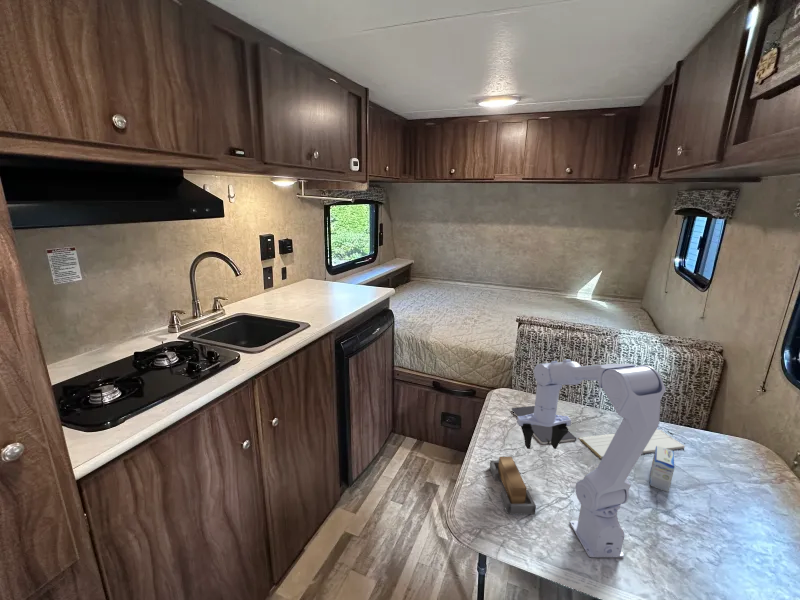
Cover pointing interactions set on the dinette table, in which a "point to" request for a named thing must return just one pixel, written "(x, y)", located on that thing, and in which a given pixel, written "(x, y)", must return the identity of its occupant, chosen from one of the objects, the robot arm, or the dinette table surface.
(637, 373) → the robot arm
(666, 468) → the medicine box
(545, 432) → the notebook
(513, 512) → the end caps
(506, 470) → the brown wooden block
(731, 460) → the dinette table surface
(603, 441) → the baseboard molding
